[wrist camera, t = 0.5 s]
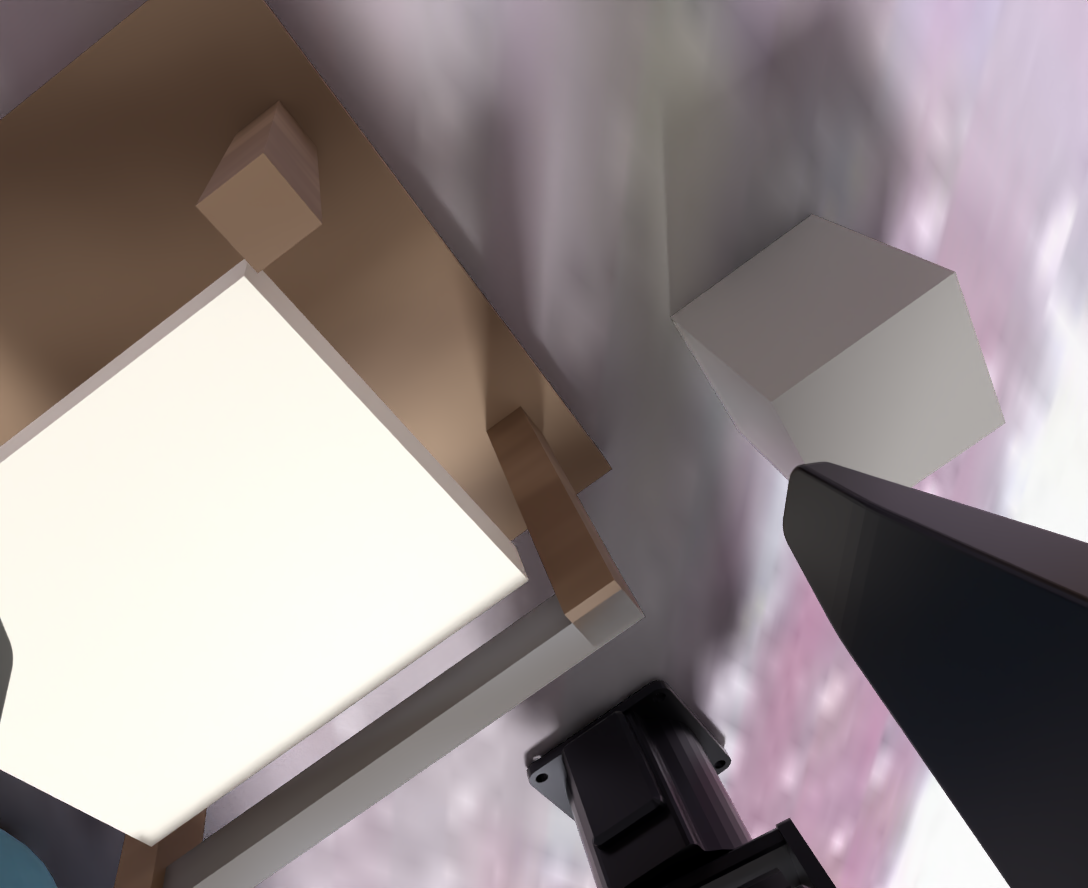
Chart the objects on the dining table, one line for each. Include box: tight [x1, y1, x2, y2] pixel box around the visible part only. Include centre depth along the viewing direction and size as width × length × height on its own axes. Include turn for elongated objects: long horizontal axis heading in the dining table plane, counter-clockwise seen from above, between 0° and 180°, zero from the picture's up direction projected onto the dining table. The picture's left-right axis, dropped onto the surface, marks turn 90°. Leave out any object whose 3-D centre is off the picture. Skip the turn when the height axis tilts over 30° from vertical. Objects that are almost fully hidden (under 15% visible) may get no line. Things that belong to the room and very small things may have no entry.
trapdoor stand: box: [0, 0, 645, 888], centre depth 18 cm, size 16×15×9 cm
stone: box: [671, 214, 1005, 488], centre depth 22 cm, size 5×5×6 cm
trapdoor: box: [0, 259, 529, 847], centre depth 15 cm, size 8×10×1 cm
